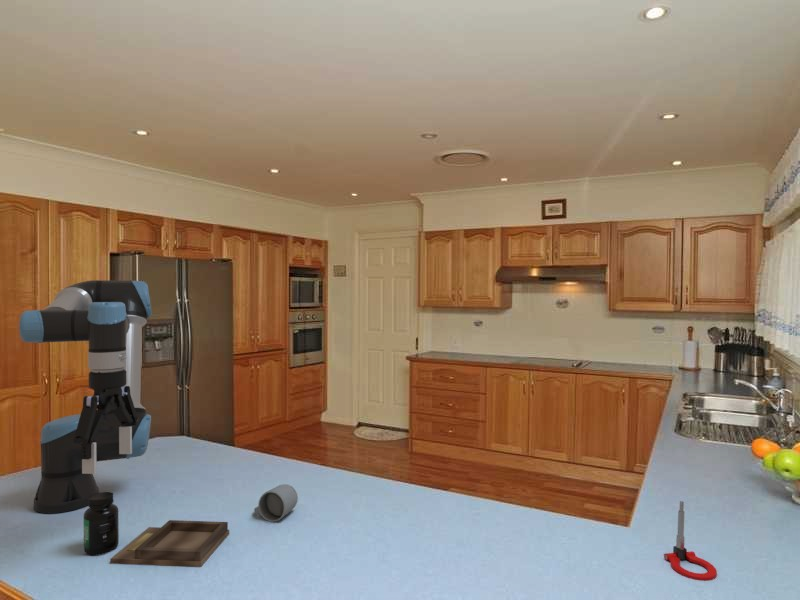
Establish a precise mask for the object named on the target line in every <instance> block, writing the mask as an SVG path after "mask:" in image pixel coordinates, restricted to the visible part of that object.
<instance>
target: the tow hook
mask: <svg viewBox="0 0 800 600" xmlns="http://www.w3.org/2000/svg"><path fill="white" fill-rule="evenodd" d="M684 504H685V502H684V501H683V500H682V501H681V500H680V501H679V510H678V511H677V513H678V514H677V534H676V537H675V538H676V542H675V544H676V545H675V546H673V549H672V550H673V551H672V552H668V553H667V552H665V553H663V557H664V558H663V559H664V560H665V561H669V562H670V567H671V568H672V569H673V570H674V571H675V572H677V573H678V574H679V575H681V576H683V577H685V578H688V579H692V580H697V581H712V580H715V579H716V578H717V575H718V570H717V568H716V567H715V566H714V565H713V564H712V563H711V562H709V561H707V560H706V559H704V558H700V557H698V556H696V553H695V551H687V548H686V547H685V536H684V535H685V534H684V533H685V532H684V531H685V511H684V507H685V506H684ZM686 560H688V561H689V562H690V563H694V564H697V565H700V566H702V567H704V569H706V570H707V571H706V572H705V573H704V572H703V573H698V572H695V571H694V572H693V571H690V570H687V569H685V568H684V567H682V566H681V565H680V563H681V561H686Z"/></svg>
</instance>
